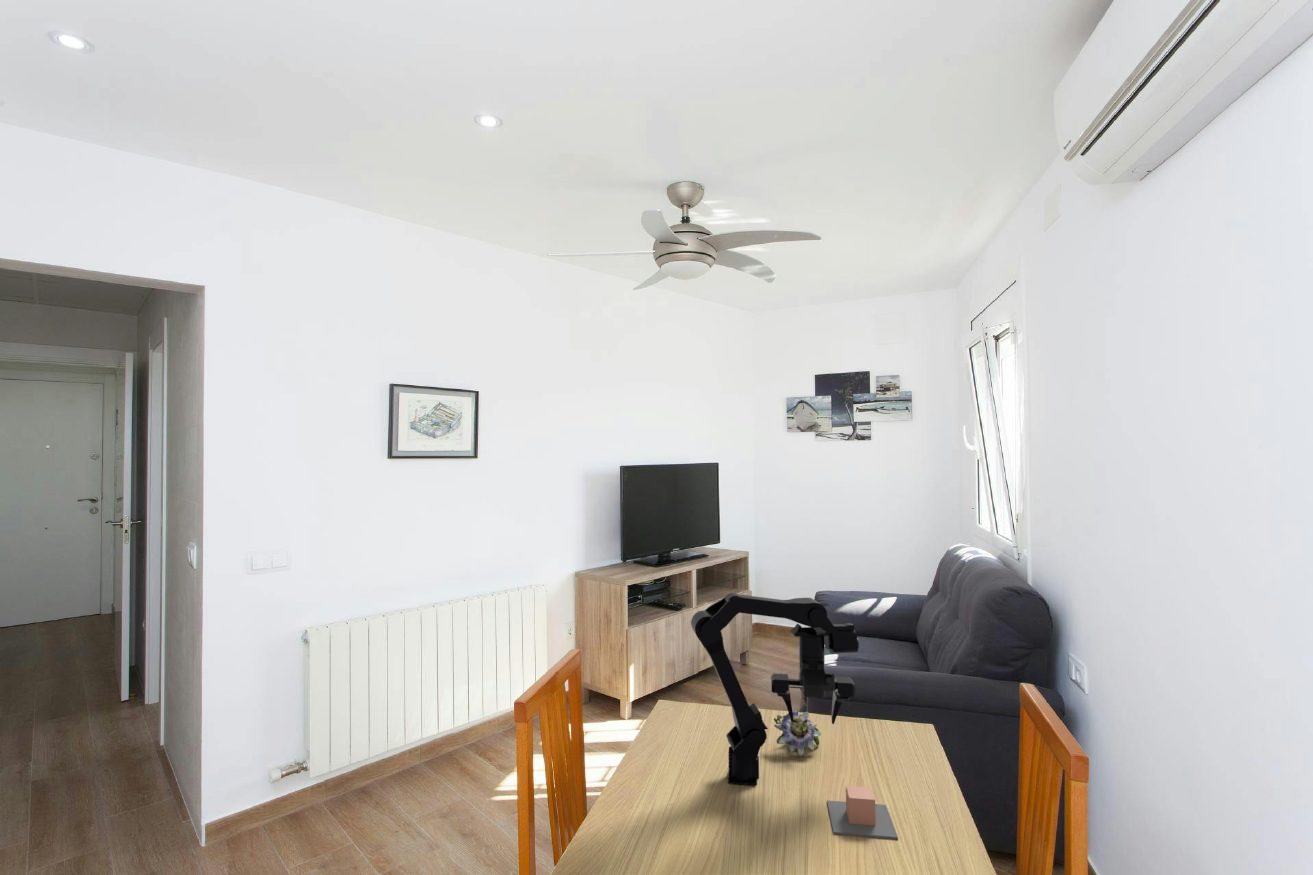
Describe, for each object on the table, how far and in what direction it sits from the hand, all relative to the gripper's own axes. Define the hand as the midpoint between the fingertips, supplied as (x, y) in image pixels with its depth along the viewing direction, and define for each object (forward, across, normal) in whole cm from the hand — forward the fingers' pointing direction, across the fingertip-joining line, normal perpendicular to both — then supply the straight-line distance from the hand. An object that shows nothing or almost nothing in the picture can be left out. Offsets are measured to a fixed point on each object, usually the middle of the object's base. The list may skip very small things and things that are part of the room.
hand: (812, 722), depth 152 cm
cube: (+12, +8, -18) cm, 23 cm away
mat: (+12, +8, -18) cm, 23 cm away
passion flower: (+12, -3, +14) cm, 19 cm away
